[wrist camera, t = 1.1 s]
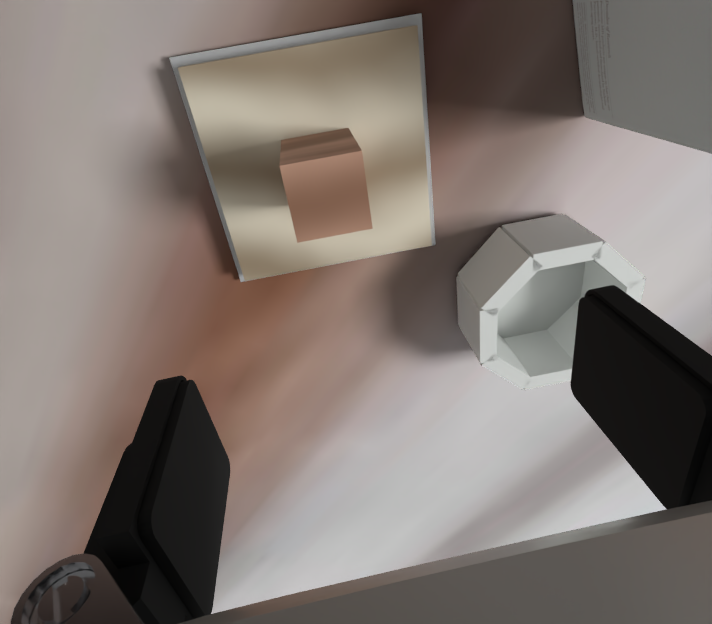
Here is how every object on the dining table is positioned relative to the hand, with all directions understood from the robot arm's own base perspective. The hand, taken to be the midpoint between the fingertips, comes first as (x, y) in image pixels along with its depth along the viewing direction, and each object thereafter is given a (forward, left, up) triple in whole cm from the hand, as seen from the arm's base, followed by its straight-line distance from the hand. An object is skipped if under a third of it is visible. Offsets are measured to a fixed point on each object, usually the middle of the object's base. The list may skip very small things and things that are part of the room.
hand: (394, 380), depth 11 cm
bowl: (+12, +13, -22) cm, 28 cm away
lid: (0, -1, -21) cm, 21 cm away
